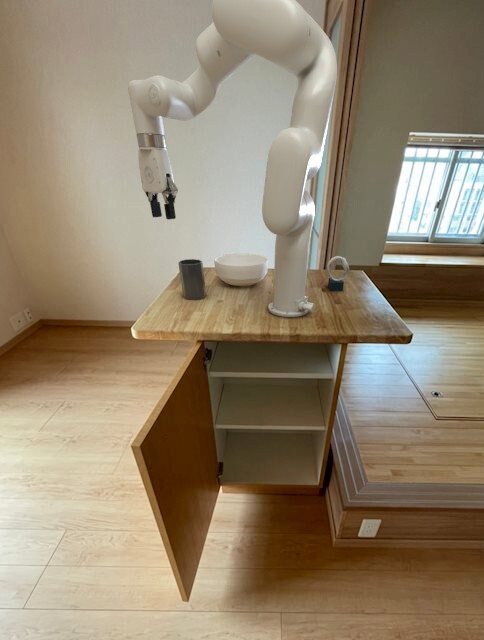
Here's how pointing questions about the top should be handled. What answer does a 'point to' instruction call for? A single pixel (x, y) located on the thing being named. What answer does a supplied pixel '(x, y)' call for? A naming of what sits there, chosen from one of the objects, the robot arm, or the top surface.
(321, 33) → the robot arm
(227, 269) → the bowl
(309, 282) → the top surface
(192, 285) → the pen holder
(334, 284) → the black block with loop
